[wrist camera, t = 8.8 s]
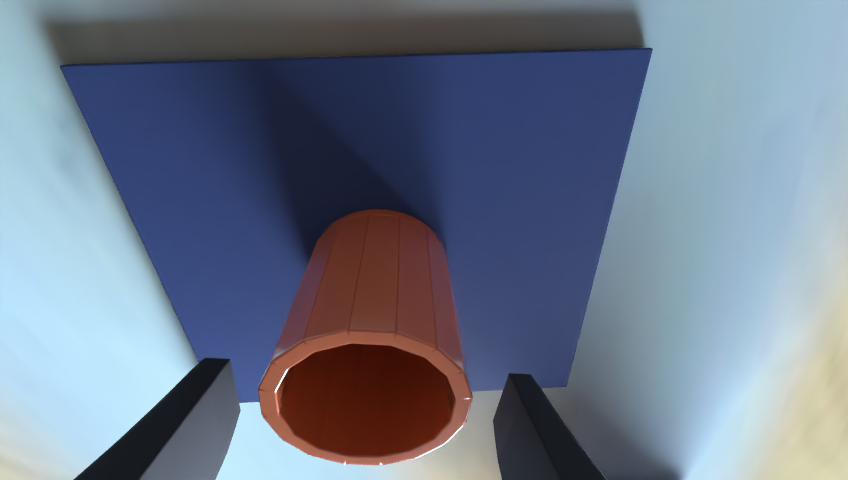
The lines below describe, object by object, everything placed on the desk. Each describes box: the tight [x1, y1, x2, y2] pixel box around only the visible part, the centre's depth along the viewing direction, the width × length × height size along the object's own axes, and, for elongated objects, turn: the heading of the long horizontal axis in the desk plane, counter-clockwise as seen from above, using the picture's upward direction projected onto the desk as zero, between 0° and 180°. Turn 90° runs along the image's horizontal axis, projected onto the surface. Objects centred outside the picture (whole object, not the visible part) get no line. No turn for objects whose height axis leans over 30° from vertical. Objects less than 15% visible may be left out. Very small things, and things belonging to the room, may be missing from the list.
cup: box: [258, 209, 473, 465], centre depth 12 cm, size 5×5×6 cm
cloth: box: [60, 48, 653, 403], centre depth 15 cm, size 17×15×1 cm
